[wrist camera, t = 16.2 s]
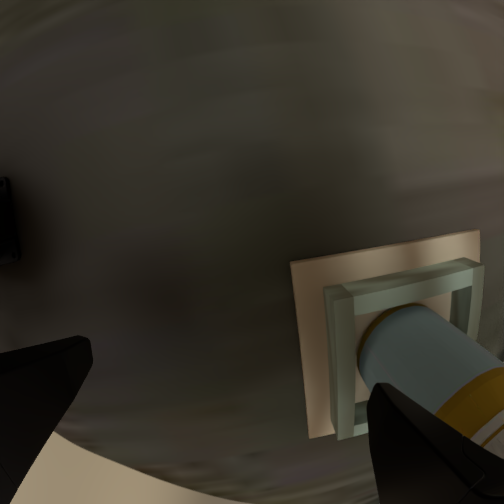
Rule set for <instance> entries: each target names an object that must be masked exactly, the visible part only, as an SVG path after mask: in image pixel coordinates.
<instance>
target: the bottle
mask: <svg viewBox="0 0 504 504" xmlns="http://www.w3.org/2000/svg"><path fill="white" fill-rule="evenodd" d="M357 367H358V370H359V373H360V375H361V377H362V379H363V381H364V383H365V385H366V386H367V388H368V390H369V391H370V393H371V392H372V389H373V387H374V385H375V384H376V383H377V382H387V383H390V384H391V385H392V386H394V387H395V388H397V389H398V390H399V391H401V392H402V393H404V394H405V395H406V396H408V397H409V398H411V399H412V400H414V401H415V402H416V403H418V404H419V405H421V406H422V407H424V408H425V409H426V410H428V411H429V412H431V413H432V414H434V415H435V416H437V417H438V418H439V419H441V420H442V421H444V422H445V423H447V424H448V425H450V426H451V427H453V428H454V429H456V430H457V431H458V432H460V433H461V434H463V436H466V437H467V438H469V439H470V440H472V441H473V442H475V443H476V444H478V445H480V446H481V447H483V448H484V449H486V450H488V451H490V452H491V453H493V454H495V455H497V456H499V457H501V458H503V459H504V363H503V362H502V361H500V360H499V359H498V358H496V357H495V356H494V355H493V354H491V353H490V352H489V351H487V350H486V349H485V348H483V347H482V346H481V345H479V344H478V343H477V342H475V341H474V340H473V339H471V338H470V337H469V336H467V335H466V334H465V333H463V332H462V331H461V330H459V329H458V328H457V327H455V326H454V325H453V324H451V323H450V322H448V321H447V320H446V319H444V318H443V317H441V316H440V315H439V314H437V313H436V312H434V311H433V310H431V309H430V308H428V307H426V306H425V305H422V304H417V303H408V304H404V305H400V306H396V307H394V308H392V309H390V310H388V311H387V312H385V313H384V314H382V315H381V316H380V317H379V318H378V319H377V320H376V321H374V322H373V323H372V325H371V326H370V327H369V329H368V330H367V332H366V333H365V335H364V336H363V338H362V340H361V343H360V346H359V348H358V352H357Z"/></svg>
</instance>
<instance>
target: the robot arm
mask: <svg viewBox="0 0 504 504" xmlns="http://www.w3.org/2000/svg"><path fill="white" fill-rule="evenodd" d="M3 182H4V185H3ZM15 254H16V256H15ZM20 258H21V251H20V247H19V242H18V237H17V232H16V227H15V221H14V216H13V209H12V203H11V195H10V187H9V180H8V178H7V177H0V265H3V264H7V263H11V262H16V261H18V260H20ZM92 364H93V357H92V350H91V343H90V340H89V339H88V338H86V337H83V336H80V335H77V336H73V337H69V338H65V339H61V340H56V341H52V342H48V343H44V344H39V345H35V346H31V347H26V348H22V349H18V350H13V351H9V352H4V353H0V504H10V502H11V500H12V499H13V497H14V495H15V493H16V492H17V490H18V489H17V488H19V486H20V484H21V483H22V481H23V479H24V478H25V476H26V474H27V472H28V471H29V469H30V467H31V466H32V464H33V463H34V461H35V459H36V458H37V456H38V454H39V453H40V451H41V450H42V448H43V446H44V445H45V443H46V441H47V440H48V439H49V437H50V435H51V434H52V432H53V431H54V429H55V428H56V426H57V425H58V423H59V422H60V420H61V418H62V417H63V415H64V414H65V412H66V411H67V409H68V408H69V406H70V405H71V403H72V402H73V400H74V399H75V397H76V395H77V393H78V391H79V389H80V387H81V386H82V384H83V382H84V380H85V378H86V376H87V374H88V372H89V370H90V369H91V367H92ZM366 412H367V422H368V434H369V446H370V453H371V458H372V463H373V469H374V474H375V479H376V484H377V490H378V496H379V501H380V504H504V459H503V458H501V457H499V456H497V455H495V454H493V453H491V452H490V451H488V450H486V449H484V448H483V447H481V446H480V445H478V444H476V443H475V442H473V441H472V440H470V439H469V438H467V437H466V436H463V434H461V433H460V432H458V431H457V430H456V429H454V428H453V427H451V426H450V425H448V424H447V423H445V422H444V421H442V420H441V419H439V418H438V417H437V416H435V415H434V414H432V413H431V412H429V411H428V410H426V409H425V408H424V407H422V406H421V405H419V404H418V403H416V402H415V401H414V400H412V399H411V398H409V397H408V396H406V395H405V394H404V393H402V392H401V391H399V390H398V389H397V388H395V387H394V386H392V385H391V384H390V383H387V382H377V383H376V384H375V385H374V387H373V389H372V392H371V394H370V397H369V400H368V402H367V407H366Z"/></svg>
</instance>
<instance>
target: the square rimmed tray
mask: <svg viewBox="0 0 504 504" xmlns="http://www.w3.org/2000/svg"><path fill="white" fill-rule="evenodd" d="M484 267H485V265H484V264H481V263H480V230H478V229H472V230H467V231H461V232H456V233H451V234H445V235H440V236H435V237H429V238H424V239H418V240H413V241H407V242H402V243H396V244H390V245H385V246H379V247H373V248H368V249H362V250H356V251H350V252H345V253H339V254H333V255H327V256H321V257H315V258H309V259H303V260H297V261H291V262H290V269H291V277H292V284H293V292H294V300H295V309H296V317H297V326H298V334H299V343H300V353H301V362H302V372H303V382H304V392H305V403H306V414H307V425H308V435H309V439H310V438H315V437H320V436H325V435H329V434H334V433H335V434H336V436H337V439H338V440H342V439H346V438H350V437H354V436H357V435H361V434H365V433H368V422H367V412H366V407H367V402H368V400H369V397H370V394H371V393H370V391H369V390H368V388H367V386H366V385H365V383H364V381H363V379H362V377H361V375H360V373H359V370H358V367H357V352H358V348H359V346H360V343H361V340H362V338H363V336H364V335H365V333H366V332H367V330H368V329H369V327H370V326H371V325H372V323H373V322H374V321H376V320H377V319H378V318H379V317H380V316H381V315H382V314H384V313H385V312H387V311H388V310H390V309H392V308H394V307H396V306H400V305H404V304H408V303H417V304H422V305H425V306H426V307H428V308H430V309H431V310H433V311H434V312H436V313H437V314H439V315H440V316H441V317H443V318H444V319H446V320H447V321H448V322H450V323H451V324H453V325H454V326H455V327H457V328H458V329H459V330H461V331H462V332H463V333H465V334H466V335H467V336H469V337H470V338H471V339H473V340H474V341H475V342H476V341H477V335H478V329H479V322H480V314H481V306H482V296H483V284H484Z"/></svg>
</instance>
